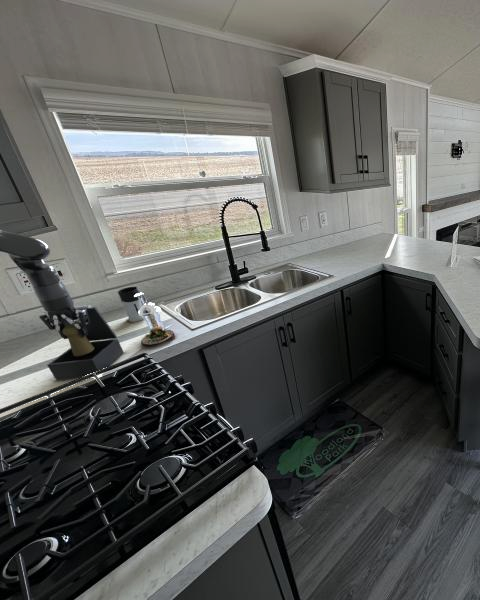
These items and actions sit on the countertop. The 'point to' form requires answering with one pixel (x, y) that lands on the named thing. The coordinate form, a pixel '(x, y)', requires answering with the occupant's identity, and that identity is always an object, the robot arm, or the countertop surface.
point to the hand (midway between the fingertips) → (76, 336)
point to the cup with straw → (150, 313)
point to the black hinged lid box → (86, 360)
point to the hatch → (95, 325)
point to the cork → (77, 341)
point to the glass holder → (131, 302)
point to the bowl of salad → (157, 336)
